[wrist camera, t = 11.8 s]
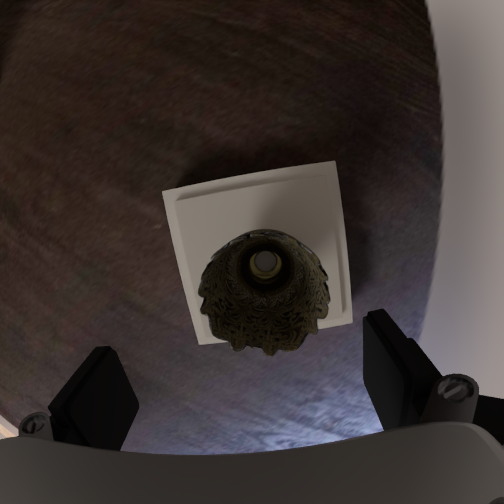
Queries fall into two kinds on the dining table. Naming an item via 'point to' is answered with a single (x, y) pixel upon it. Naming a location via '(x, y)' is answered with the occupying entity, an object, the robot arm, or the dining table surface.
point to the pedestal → (262, 217)
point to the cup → (264, 293)
